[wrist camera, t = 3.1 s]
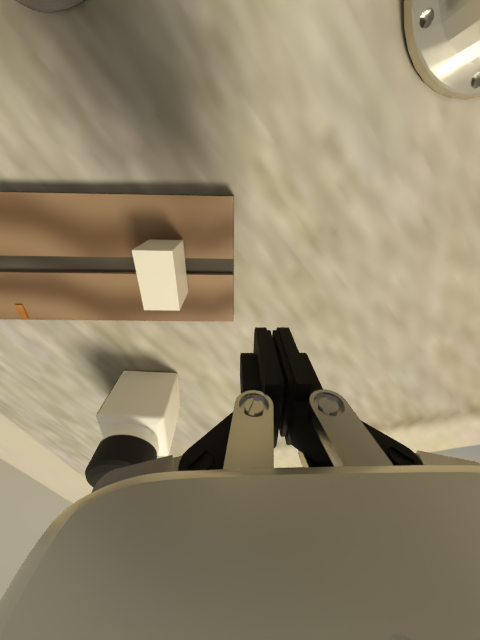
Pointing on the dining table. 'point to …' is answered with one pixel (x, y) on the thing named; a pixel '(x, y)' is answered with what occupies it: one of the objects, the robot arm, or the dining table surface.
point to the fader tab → (161, 274)
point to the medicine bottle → (135, 421)
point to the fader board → (110, 254)
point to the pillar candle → (49, 4)
